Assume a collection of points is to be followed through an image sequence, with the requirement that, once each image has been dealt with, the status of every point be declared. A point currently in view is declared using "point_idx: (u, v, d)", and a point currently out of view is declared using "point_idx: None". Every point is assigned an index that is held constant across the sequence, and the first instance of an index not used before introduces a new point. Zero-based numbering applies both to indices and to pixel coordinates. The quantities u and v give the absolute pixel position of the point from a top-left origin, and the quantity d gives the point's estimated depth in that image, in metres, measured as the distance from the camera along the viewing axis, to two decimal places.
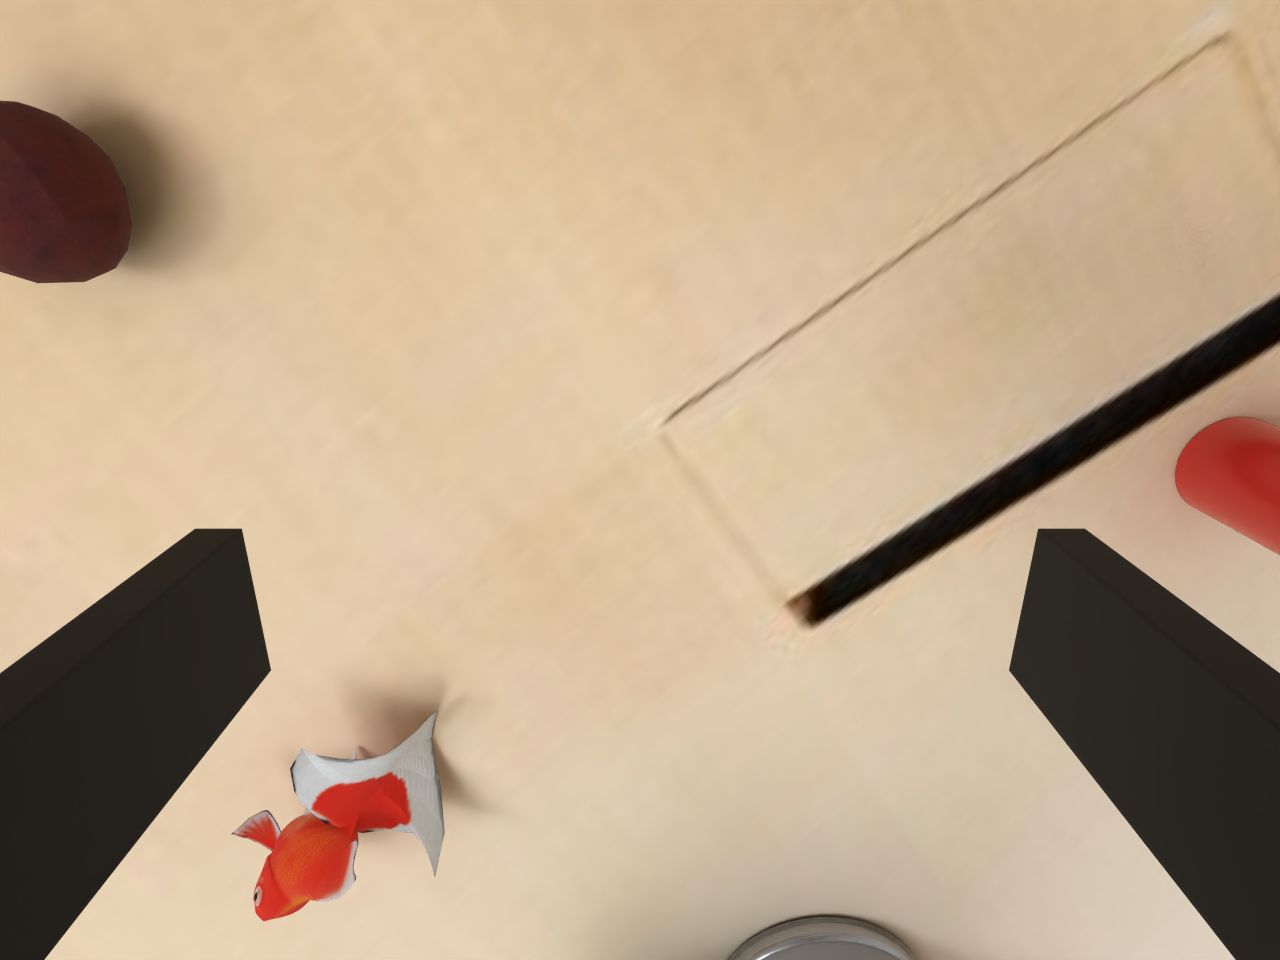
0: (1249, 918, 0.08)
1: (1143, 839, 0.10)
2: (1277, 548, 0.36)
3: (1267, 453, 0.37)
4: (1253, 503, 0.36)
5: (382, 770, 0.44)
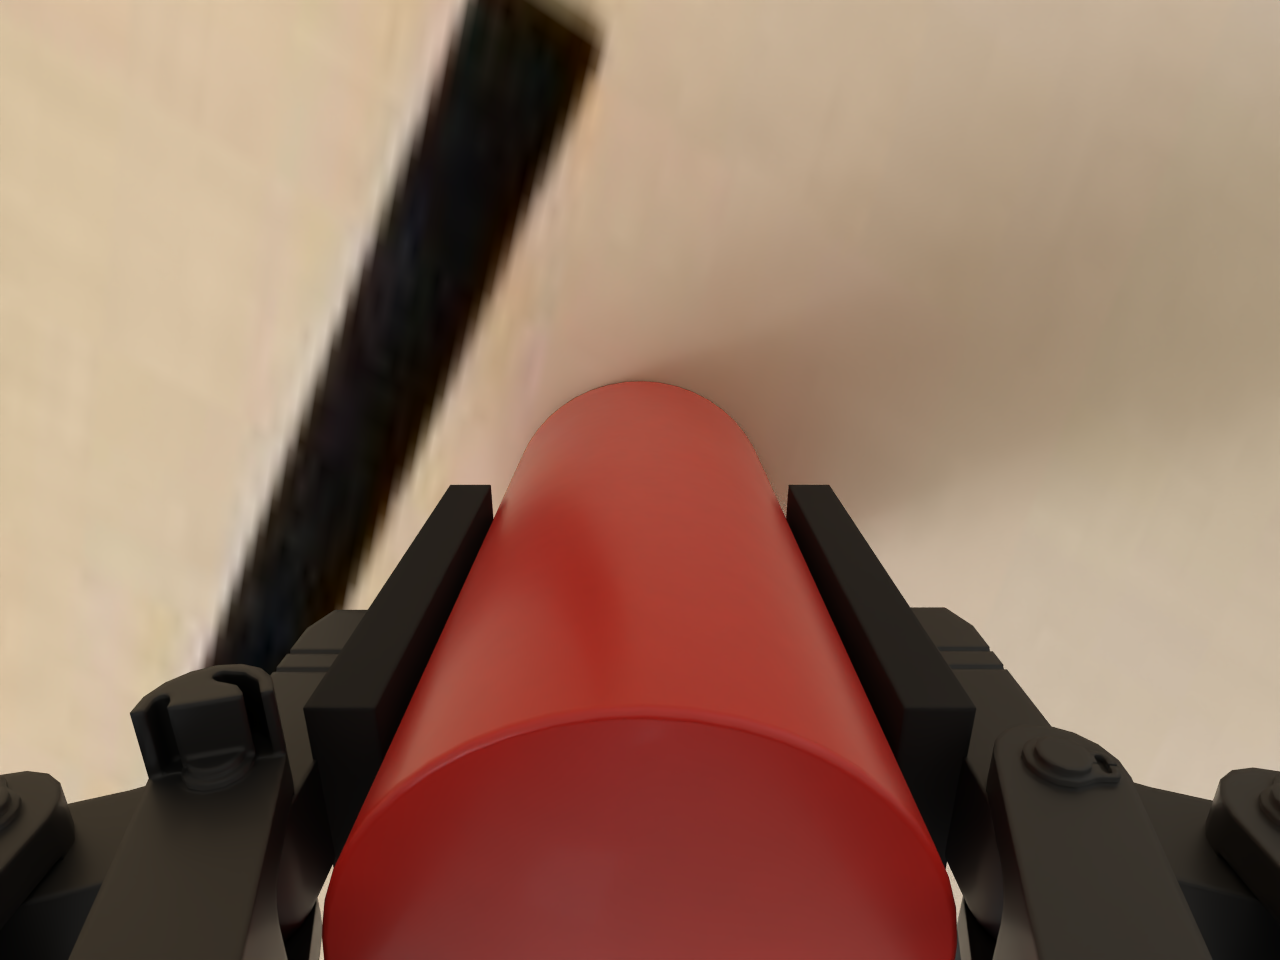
0: None
1: None
2: None
3: None
4: None
5: None
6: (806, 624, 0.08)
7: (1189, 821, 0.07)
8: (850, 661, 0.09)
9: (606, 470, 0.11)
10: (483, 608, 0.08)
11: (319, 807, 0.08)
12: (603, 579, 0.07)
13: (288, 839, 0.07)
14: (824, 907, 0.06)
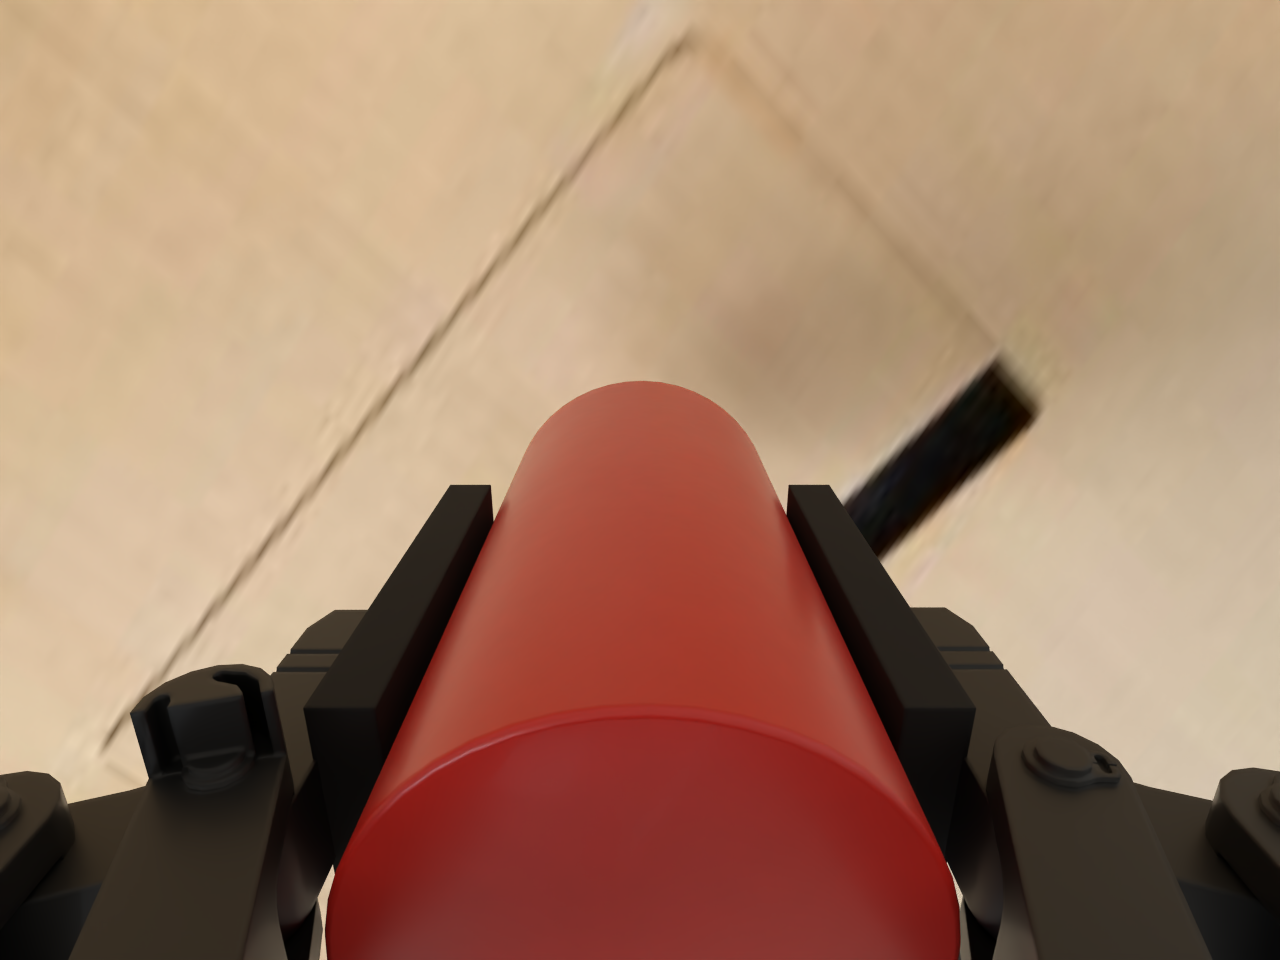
0: None
1: None
2: None
3: (486, 538, 0.12)
4: None
5: None
6: (809, 623, 0.08)
7: (1188, 820, 0.07)
8: (852, 661, 0.09)
9: (608, 470, 0.11)
10: (484, 609, 0.08)
11: (319, 807, 0.08)
12: (605, 579, 0.07)
13: (288, 839, 0.07)
14: (828, 905, 0.06)
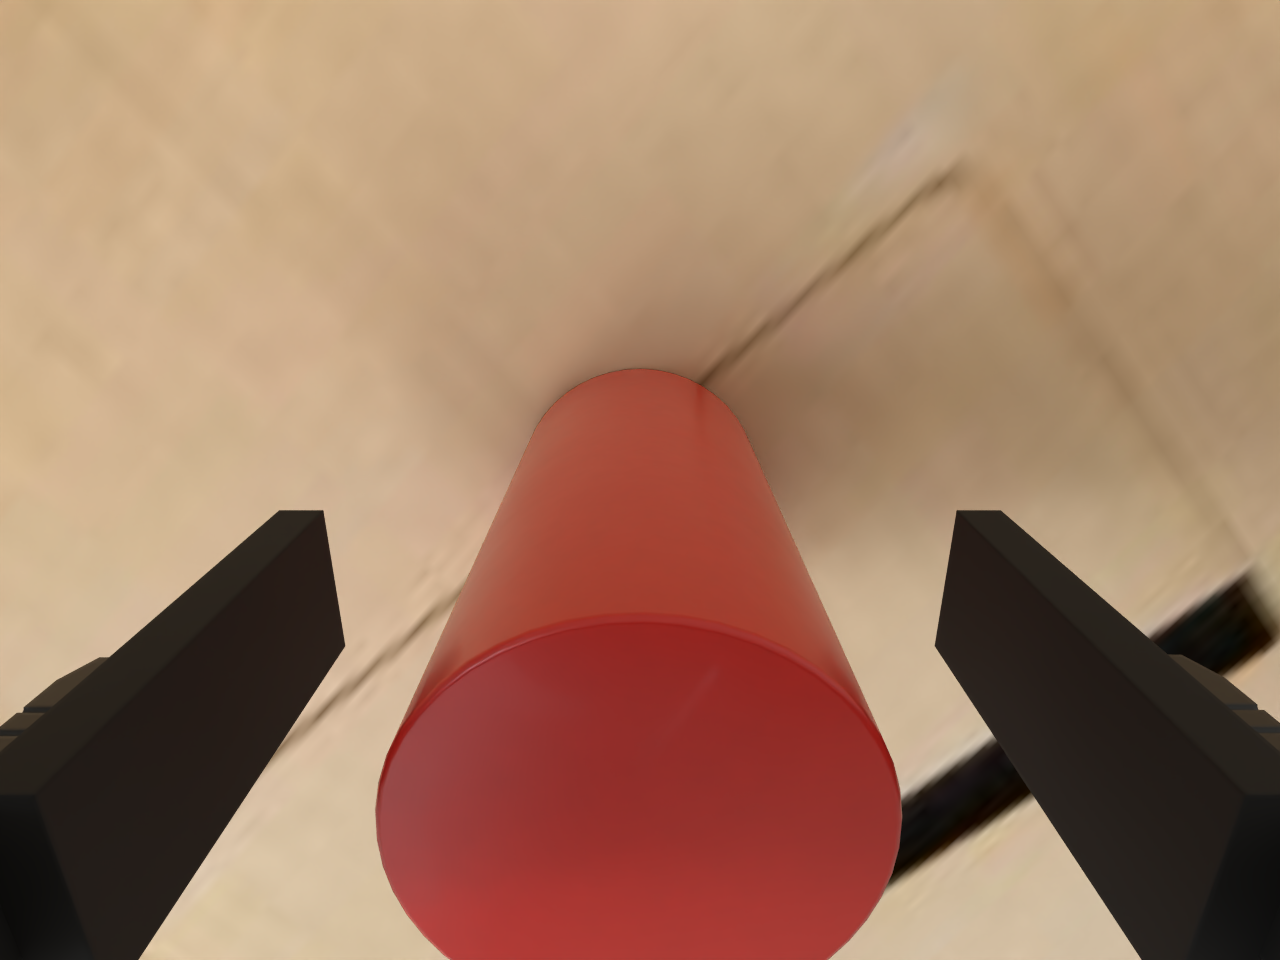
0: (1110, 859, 0.09)
1: (1034, 795, 0.10)
2: None
3: (499, 507, 0.13)
4: None
5: None
6: (781, 566, 0.09)
7: None
8: (821, 602, 0.10)
9: (609, 442, 0.12)
10: (503, 554, 0.09)
11: None
12: (607, 526, 0.09)
13: None
14: (791, 786, 0.08)
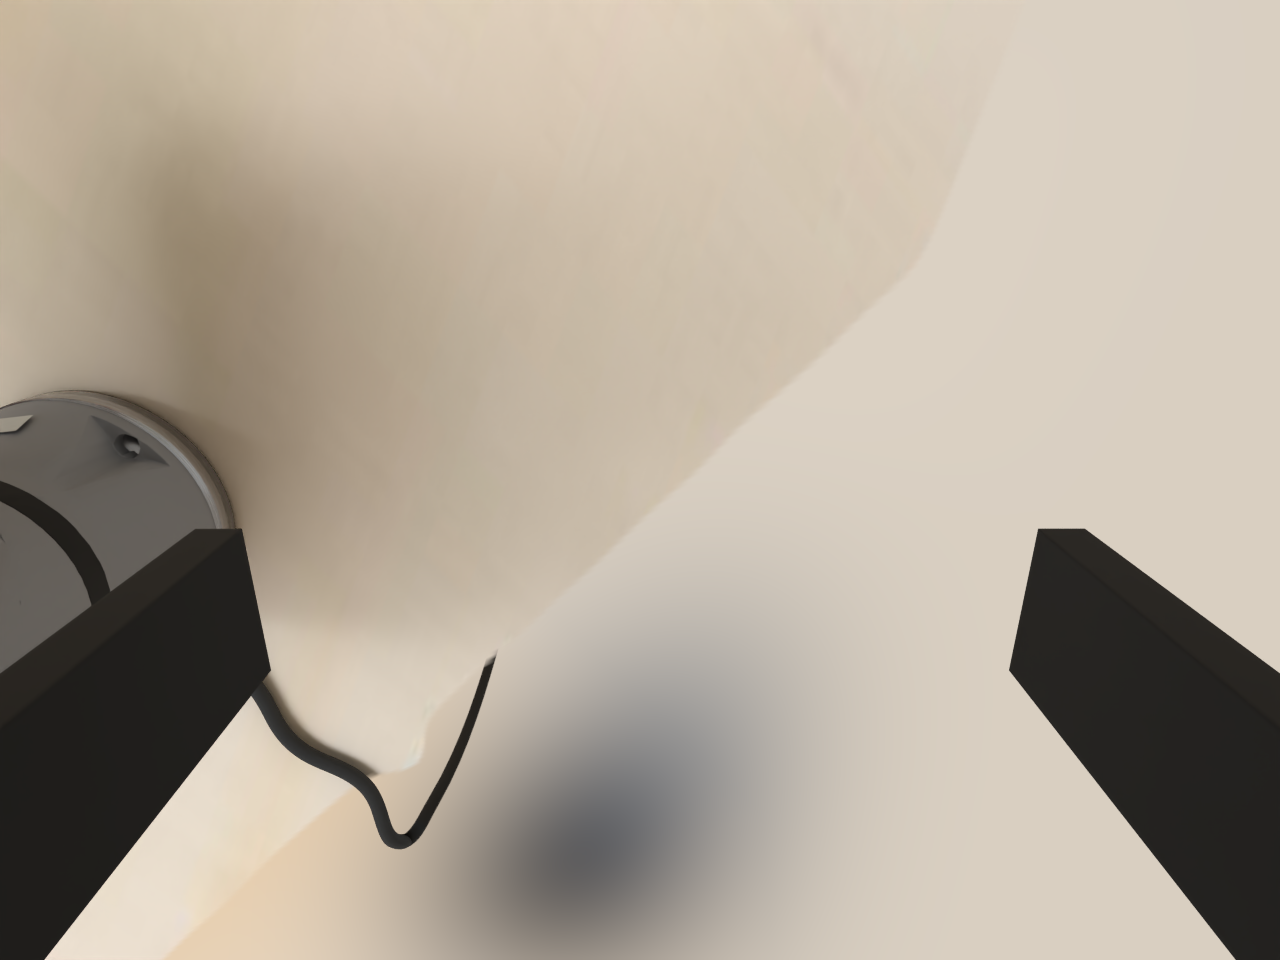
0: (1250, 919, 0.08)
1: (1143, 839, 0.10)
2: None
3: None
4: None
5: None
6: None
7: None
8: None
9: None
10: None
11: None
12: None
13: None
14: None
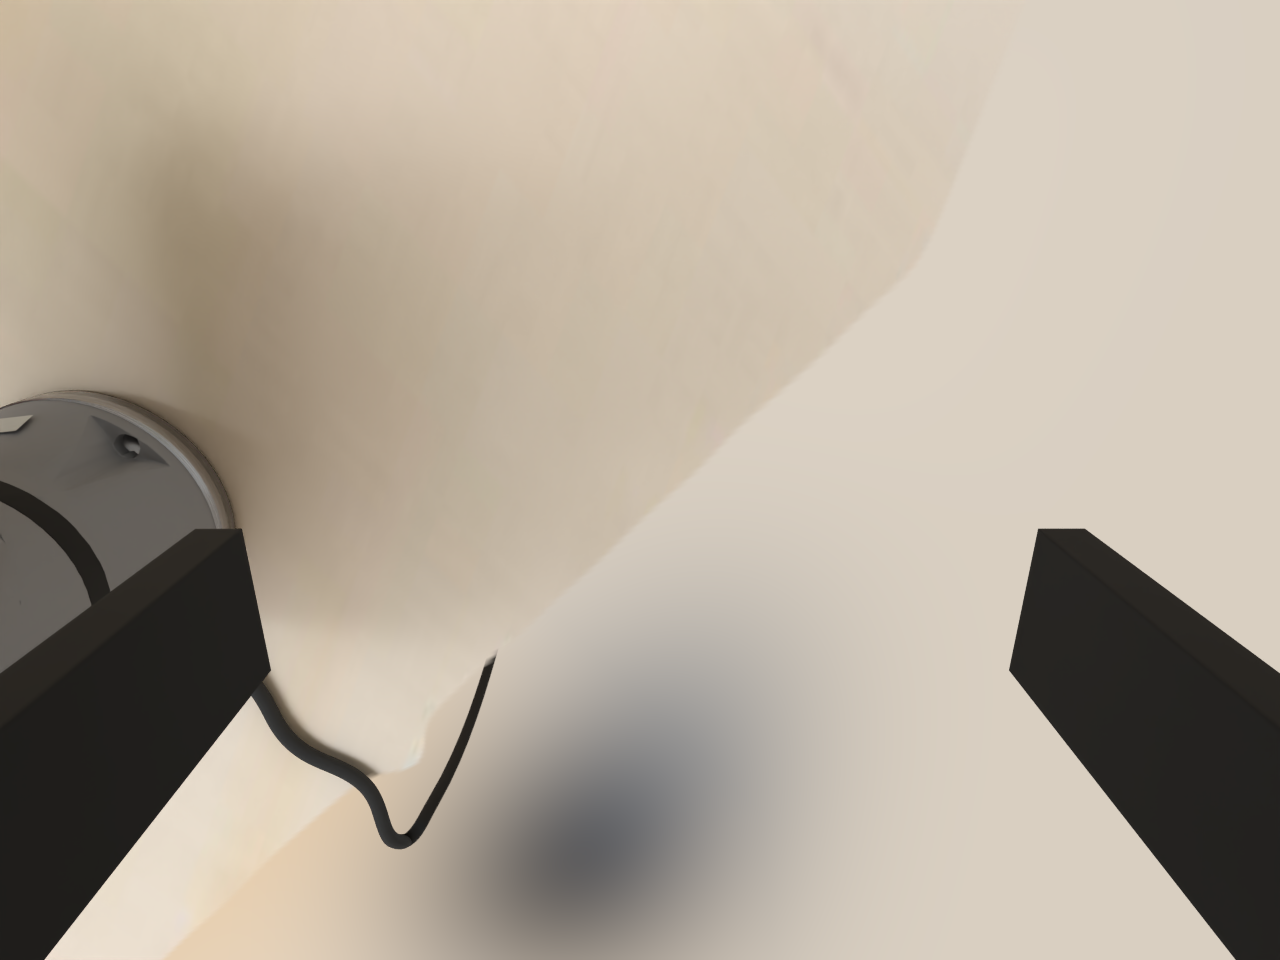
0: (1250, 919, 0.08)
1: (1143, 839, 0.10)
2: None
3: None
4: None
5: None
6: None
7: None
8: None
9: None
10: None
11: None
12: None
13: None
14: None
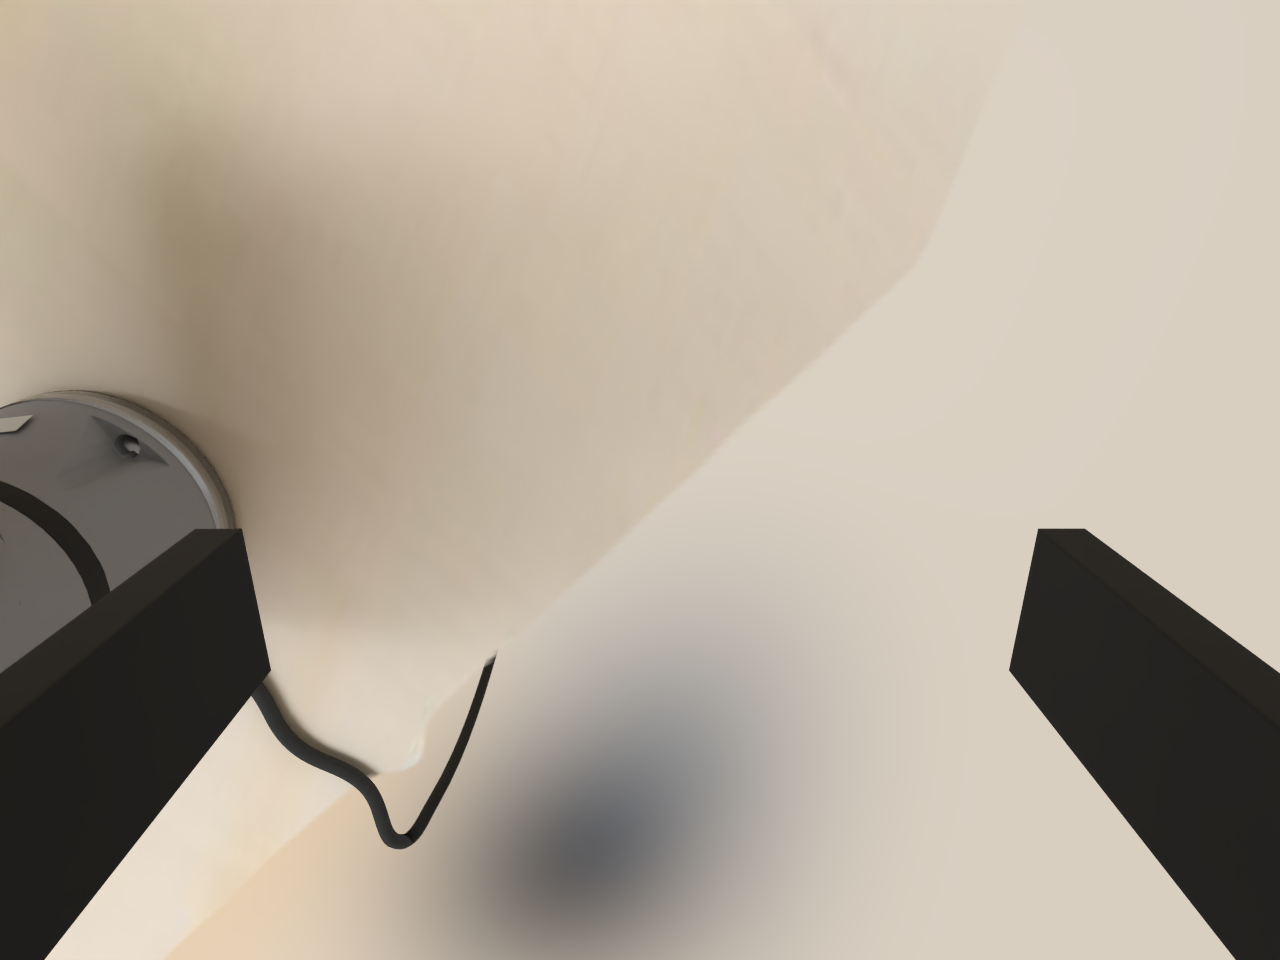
0: (1250, 919, 0.08)
1: (1143, 839, 0.10)
2: None
3: None
4: None
5: None
6: None
7: None
8: None
9: None
10: None
11: None
12: None
13: None
14: None
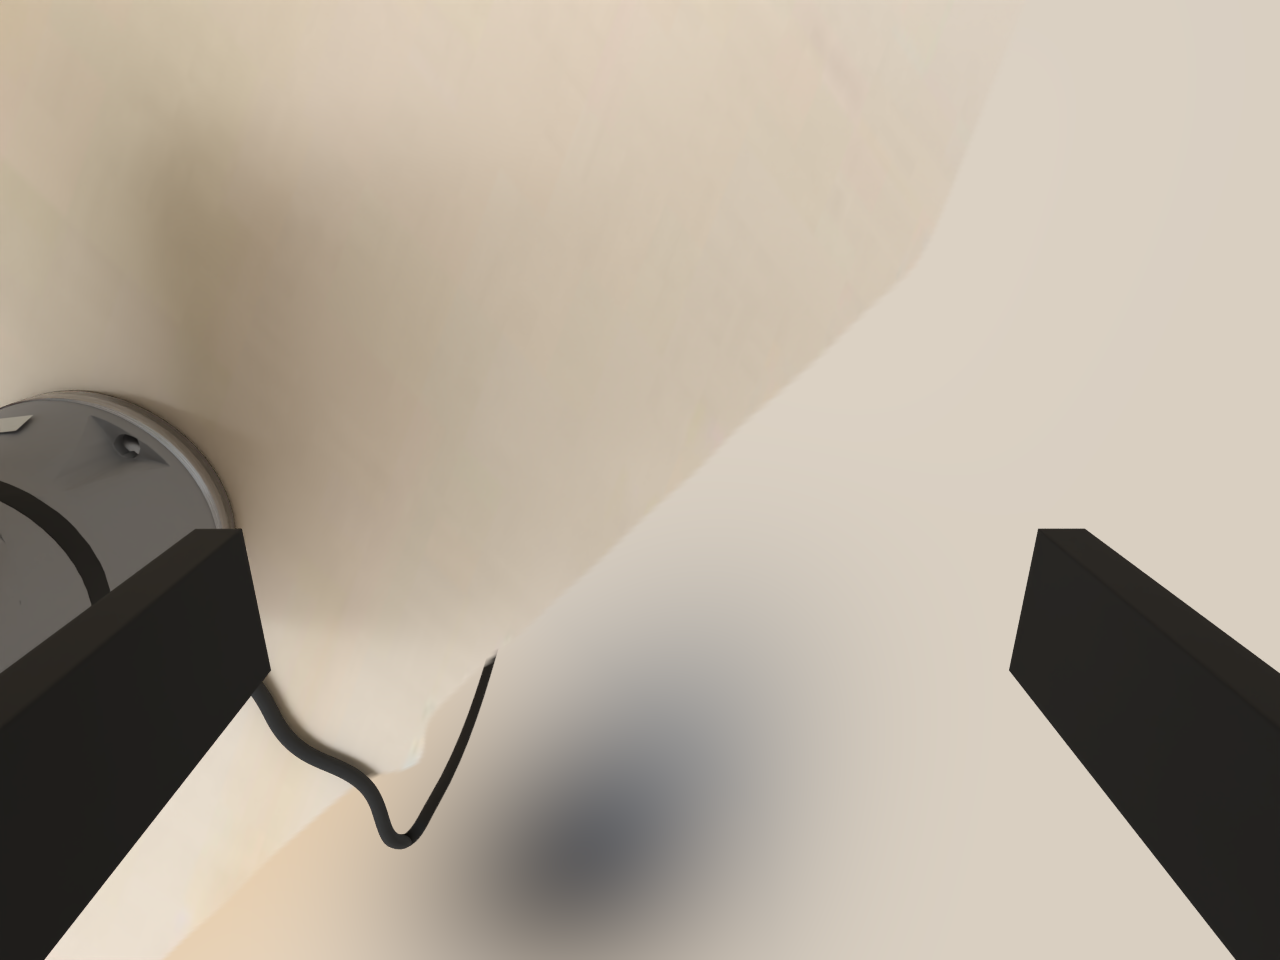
0: (1250, 919, 0.08)
1: (1143, 839, 0.10)
2: None
3: None
4: None
5: None
6: None
7: None
8: None
9: None
10: None
11: None
12: None
13: None
14: None
